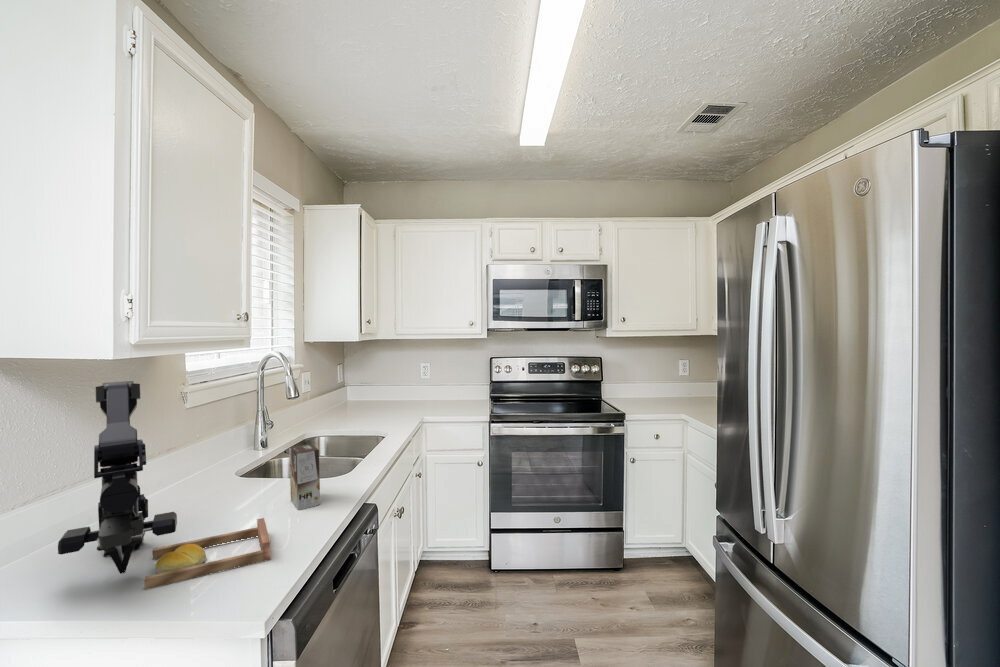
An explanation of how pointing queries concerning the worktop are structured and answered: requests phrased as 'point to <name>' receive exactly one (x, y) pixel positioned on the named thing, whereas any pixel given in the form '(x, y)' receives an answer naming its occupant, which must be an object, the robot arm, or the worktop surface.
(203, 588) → the worktop surface
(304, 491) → the coffee box
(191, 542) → the guide channel
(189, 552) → the bread roll
